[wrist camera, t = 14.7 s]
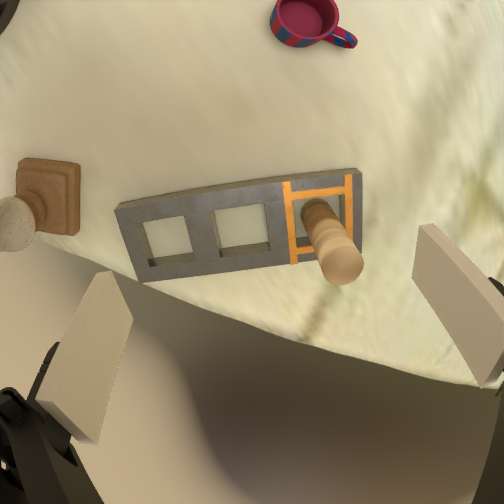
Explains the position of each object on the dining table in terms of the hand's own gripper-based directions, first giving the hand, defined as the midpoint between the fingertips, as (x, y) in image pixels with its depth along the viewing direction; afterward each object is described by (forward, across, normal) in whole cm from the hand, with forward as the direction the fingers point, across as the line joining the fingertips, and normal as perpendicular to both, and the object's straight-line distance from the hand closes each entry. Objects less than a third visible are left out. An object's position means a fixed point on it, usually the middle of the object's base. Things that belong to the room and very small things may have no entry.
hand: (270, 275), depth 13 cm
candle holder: (+30, -30, -2) cm, 43 cm away
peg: (+29, +8, -12) cm, 33 cm away
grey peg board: (+30, -2, -12) cm, 32 cm away
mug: (+30, +10, +13) cm, 34 cm away
